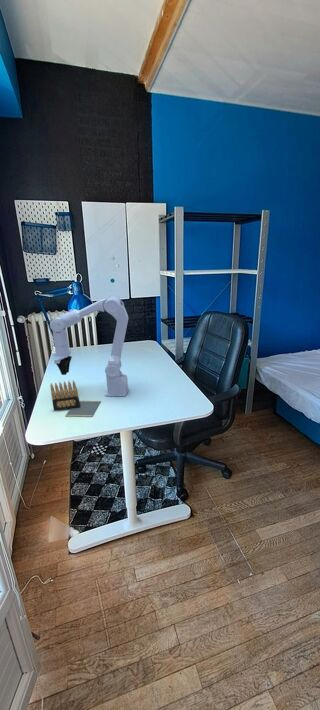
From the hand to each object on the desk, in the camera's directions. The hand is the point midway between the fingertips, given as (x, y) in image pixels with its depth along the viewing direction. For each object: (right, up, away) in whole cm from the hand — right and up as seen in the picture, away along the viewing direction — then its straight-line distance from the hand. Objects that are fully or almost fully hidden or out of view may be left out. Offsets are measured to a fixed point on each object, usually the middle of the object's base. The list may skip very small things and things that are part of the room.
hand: (65, 373), depth 135 cm
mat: (+11, -14, -11) cm, 21 cm away
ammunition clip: (+4, -14, -10) cm, 18 cm away
